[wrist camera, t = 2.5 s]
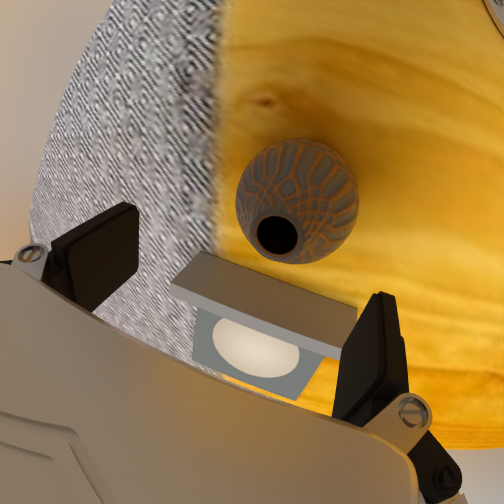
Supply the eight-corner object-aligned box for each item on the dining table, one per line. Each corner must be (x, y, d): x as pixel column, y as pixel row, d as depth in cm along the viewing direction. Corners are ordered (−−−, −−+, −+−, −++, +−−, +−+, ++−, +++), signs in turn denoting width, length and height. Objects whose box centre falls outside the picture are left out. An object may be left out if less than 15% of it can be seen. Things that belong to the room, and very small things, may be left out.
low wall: (200, 250, 25) (170, 282, 21) (357, 308, 23) (353, 352, 19) (199, 262, 26) (169, 294, 22) (351, 319, 24) (346, 362, 19)
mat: (203, 272, 26) (201, 275, 26) (342, 324, 24) (341, 328, 24) (193, 357, 33) (191, 360, 33) (296, 398, 31) (295, 401, 31)
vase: (241, 164, 21) (175, 204, 13) (326, 115, 17) (305, 121, 10) (290, 243, 22) (253, 319, 15) (375, 206, 19) (384, 275, 12)
